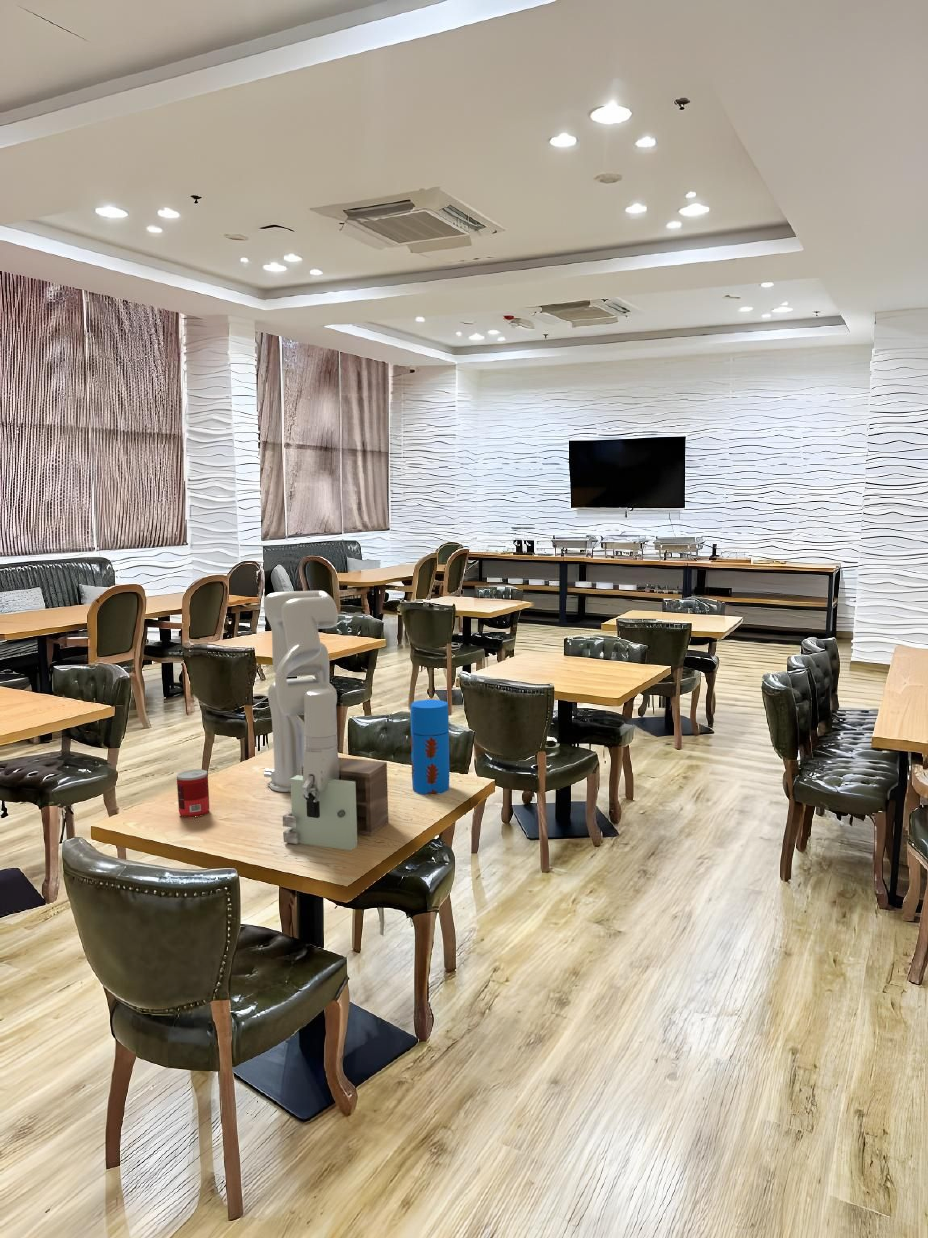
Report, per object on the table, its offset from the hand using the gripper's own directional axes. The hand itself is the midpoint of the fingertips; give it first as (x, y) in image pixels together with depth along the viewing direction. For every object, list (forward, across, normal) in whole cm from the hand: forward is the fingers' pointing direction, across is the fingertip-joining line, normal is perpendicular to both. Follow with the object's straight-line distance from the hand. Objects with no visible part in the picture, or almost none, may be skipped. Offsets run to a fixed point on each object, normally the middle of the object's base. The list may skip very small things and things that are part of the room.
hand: (323, 810), depth 209 cm
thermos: (+9, -46, +9) cm, 48 cm away
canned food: (+9, -8, -44) cm, 45 cm away
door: (+9, 0, 0) cm, 9 cm away
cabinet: (+8, -7, -1) cm, 11 cm away
